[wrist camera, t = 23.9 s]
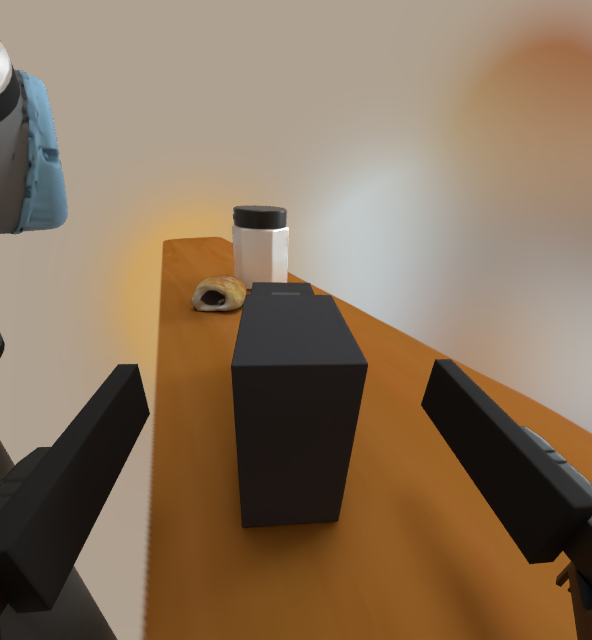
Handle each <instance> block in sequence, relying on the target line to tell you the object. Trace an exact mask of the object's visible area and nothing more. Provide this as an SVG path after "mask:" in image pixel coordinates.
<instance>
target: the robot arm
mask: <svg viewBox="0 0 592 640" xmlns="http://www.w3.org/2000/svg"><path fill="white" fill-rule="evenodd" d="M67 214H68V209H67V198H66V191H65V185H64V178H63V173H62V167H61V162H60V159H59V151H58V146H57V138H56V132H55V127H54V122H53V117H52V112H51V107H50V103H49V99H48V95H47V91H46V88H45V86H44V84H43V82H42V81H41V80H39V79H38V78H36V77H34V76H31V75H29V74H27V73H26V72H23V71H22V70H14V69H13V66H12V63H11V61H10V58H9V56H8V53H7V51H6V49H5V47H4V46H3V44H2V42H1V41H0V234H5V233H11V234H19V233H21V232H23V231H34V230H46V229H53V228H57V227H59V226H61V225H62V224H63V223H64V222H65V221H66V219H67ZM421 406H422V407H423V409H424V410H425V412H426V413H427V415H428V416H429V417H430V419H431V420H432V422H433V423H434V425H435V426H436V428H437V429H438V431H439V432H440V434H441V435H442V436H443V438H444V439H445V441H446V442H447V444H448V445H449V447H450V448H451V450H452V451H453V453H454V454H455V455H456V457H457V458H458V460H459V461H460V463H461V464H462V466H463V467H464V469H465V470H466V472H467V473H468V474H469V476H470V477H471V479H472V480H473V482H474V483H475V485H476V486H477V488H478V489H479V491H480V492H481V494H482V495H483V496H484V498H485V499H486V501H487V502H488V504H489V505H490V507H491V508H492V510H493V511H494V513H495V514H496V515H497V517H498V518H499V520H500V521H501V523H502V524H503V526H504V527H505V529H506V530H507V532H508V533H509V534H510V536H511V537H512V539H513V540H514V542H515V543H516V545H517V546H518V548H519V549H520V551H521V552H522V554H523V555H524V556H525V558H526V559H527V561H528V562H529V564H536V563H546V562H553V561H554V560H555V559H556V558H557V557H558V556H559V554H560V553H561V552H562V551H564V553H565V554H566V555H567V556H568V558H569V559H570V560H571V562H570V563H569V564H568V565H567V567H566V568H565V569H564V570H563V571H562V572H561V573H560V574H559V575H558V576H557V580H556V584H557V585H559V586H560V587H561V586H562V585H563V584H564V583H565V582H566V581H567V580H568V578H569V583H570V587H569V589H568V591H569V592H571V596H572V603H573V610H574V617H575V624H576V631H577V638H578V640H592V484H591V483H590V482H589V481H588V480H587V479H586V478H584V477H583V476H582V475H581V474H580V473H579V472H578V471H577V470H576V469H575V468H574V467H573V466H572V465H571V464H568V463H567V461H566V460H565V459H564V458H563V457H562V456H561V455H560V454H559V453H556V452H555V449H554V448H552V447H551V446H550V445H549V444H548V443H547V442H546V441H545V440H544V439H543V438H542V437H540V436H539V435H537V434H536V433H534V432H533V431H531V430H530V429H528V428H527V427H525V426H518V425H517V424H516V423H515V422H514V421H513V420H512V419H511V418H510V417H509V416H508V415H507V414H506V413H505V412H504V411H503V410H502V409H501V408H500V407H499V406H498V405H497V404H496V403H495V402H494V401H493V400H492V399H491V398H490V397H489V396H488V395H487V394H486V393H485V392H484V391H483V390H482V389H481V388H480V387H479V386H478V385H477V384H475V383H474V382H473V381H472V380H471V379H470V378H469V377H468V376H467V375H466V374H465V373H464V372H463V371H462V370H461V369H460V368H459V367H458V366H457V365H456V364H455V363H454V362H453V361H452V360H451V359H442V360H435V362H434V365H433V368H432V372H431V375H430V378H429V381H428V384H427V388H426V391H425V394H424V397H423V400H422V403H421ZM149 414H150V413H149V408H148V404H147V400H146V396H145V392H144V388H143V384H142V380H141V376H140V372H139V368H138V364H120V365H119V364H118V365H117V367H116V368H115V369H114V370H113V371H112V373H111V374H110V375H109V377H108V378H107V379H106V380H105V381H104V383H103V384H102V385H101V387H100V388H99V389H98V390H97V391H96V393H95V394H94V395H93V396H92V397H91V399H90V400H89V401H88V402H87V404H86V405H85V406H84V407H83V409H82V410H81V411H80V412H79V414H78V415H77V416H76V417H75V419H74V420H73V421H72V422H71V423H70V425H69V426H68V427H67V429H66V430H65V431H64V432H63V433H62V435H61V436H60V437H59V438H58V439H57V441H56V442H55V443H54V444H53V446H52V447H38V448H37V449H36V450H34V451H33V452H31V453H30V454H29V455H28V456H26V457H25V458H23V459H22V460H21V461H19V462H18V463H17V464H16V465H15V466H14V468H13V469H12V470H11V471H10V472H9V473H8V474H7V475H6V477H5V478H4V479H3V482H2V483H0V615H1V613H2V612H3V610H4V609H5V607H6V605H7V604H8V603H9V605H10V606H11V607H12V608H13V609H14V610H15V611H16V612H17V613H27V612H38V611H48V610H51V609H52V607H53V605H54V603H55V601H56V599H57V597H58V595H59V593H60V591H61V589H62V587H63V585H64V583H65V581H66V579H67V577H68V575H69V573H70V571H71V570H72V568H73V566H74V564H75V562H76V560H77V558H78V555H79V553H80V552H81V550H82V548H83V546H84V544H85V542H86V540H87V538H88V536H89V534H90V532H91V530H92V527H93V526H94V524H95V522H96V520H97V518H98V516H99V514H100V512H101V510H102V508H103V506H104V504H105V502H106V500H107V498H108V496H109V494H110V492H111V490H112V488H113V486H114V484H115V482H116V480H117V478H118V476H119V474H120V472H121V470H122V468H123V466H124V464H125V462H126V460H127V458H128V456H129V454H130V452H131V450H132V448H133V446H134V444H135V442H136V440H137V438H138V436H139V434H140V432H141V430H142V428H143V426H144V424H145V422H146V420H147V418H148V416H149ZM0 640H1V629H0Z"/></svg>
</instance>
